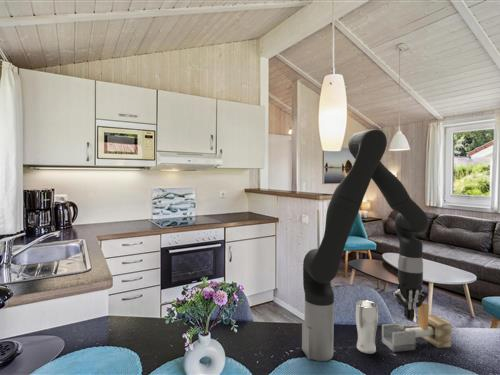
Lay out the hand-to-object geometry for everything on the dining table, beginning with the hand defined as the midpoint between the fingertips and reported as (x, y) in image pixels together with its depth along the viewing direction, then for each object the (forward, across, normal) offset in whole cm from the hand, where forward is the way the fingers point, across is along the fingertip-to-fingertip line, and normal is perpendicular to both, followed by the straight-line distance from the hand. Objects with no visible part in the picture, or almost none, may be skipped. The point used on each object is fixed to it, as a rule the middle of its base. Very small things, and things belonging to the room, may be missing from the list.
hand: (409, 318), depth 100 cm
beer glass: (+9, -16, 0) cm, 18 cm away
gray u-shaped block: (+9, -4, 0) cm, 10 cm away
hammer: (+6, +5, 0) cm, 8 cm away
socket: (+9, +11, 0) cm, 14 cm away
